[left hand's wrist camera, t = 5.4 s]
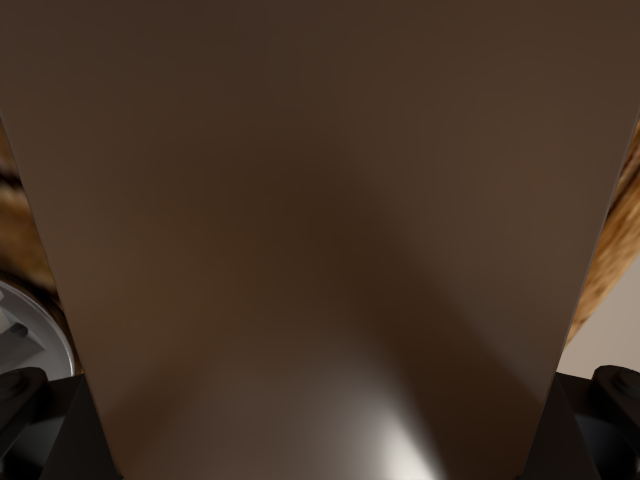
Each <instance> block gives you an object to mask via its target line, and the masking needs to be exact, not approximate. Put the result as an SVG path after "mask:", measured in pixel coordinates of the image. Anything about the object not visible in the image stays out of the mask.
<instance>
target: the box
mask: <svg viewBox="0 0 640 480" xmlns="http://www.w3.org/2000/svg"><path fill="white" fill-rule="evenodd" d="M639 116H640V0H0V118H1V121H2V124H3V127H4V130H5V133H6V136H7V139H8V142H9V145H10V148H11V152H12V155H13V158H14V161H15V164H16V167H17V170H18V173H19V176H20V179H21V182H22V185H23V188H24V191H25V194H26V197H27V200H28V203H29V206H30V210H31V213H32V216H33V219H34V222H35V225H36V228H37V231H38V234H39V237H40V240H41V243H42V246H43V249H44V252H45V255H46V258H47V261H48V265H49V268H50V271H51V274H52V277H53V280H54V283H55V286H56V289H57V292H58V295H59V298H60V301H61V304H62V307H63V310H64V313H65V316H66V320H67V323H68V326H69V329H70V332H71V335H72V338H73V341H74V344H75V347H76V350H77V353H78V356H79V359H80V362H81V365H82V368H83V371H84V374H85V378H86V381H87V384H88V387H89V390H90V393H91V396H92V399H93V402H94V405H95V408H96V411H97V414H98V417H99V420H100V423H101V426H102V429H103V433H104V436H105V439H106V442H107V445H108V448H109V451H110V454H111V457H112V460H113V463H114V466H115V469H116V472H117V475H119V476H124V480H516V476H520V475H522V474H523V471H524V468H525V465H526V462H527V459H528V456H529V453H530V449H531V446H532V443H533V440H534V437H535V434H536V431H537V428H538V425H539V422H540V419H541V416H542V413H543V410H544V407H545V404H546V400H547V397H548V394H549V391H550V388H551V385H552V382H553V379H554V376H555V373H556V370H557V367H558V364H559V360H560V358H561V355H562V352H563V348H564V345H565V342H566V339H567V336H568V333H569V330H570V327H571V324H572V321H573V318H574V315H575V312H576V309H577V306H578V303H579V300H580V296H581V293H582V290H583V287H584V284H585V281H586V278H587V275H588V272H589V269H590V266H591V263H592V260H593V257H594V254H595V251H596V247H597V244H598V241H599V238H600V235H601V232H602V229H603V226H604V223H605V220H606V217H607V214H608V211H609V208H610V205H611V202H612V199H613V195H614V192H615V189H616V186H617V183H618V180H619V177H620V174H621V171H622V168H623V165H624V162H625V159H626V156H627V153H628V150H629V147H630V143H631V140H632V137H633V134H634V131H635V128H636V125H637V122H638V119H639Z"/></svg>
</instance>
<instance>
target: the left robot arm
mask: <svg viewBox="0 0 640 480" xmlns="http://www.w3.org/2000/svg"><path fill="white" fill-rule="evenodd" d="M81 370H82V365H81V362H80V359H79V356H78V353H77V350H76V347H75V344H74V341H73V338H72V335H71V332H70V329H69V326H68V323H67V321H66V319H65V318H64V317H63V315H62V314H61V313H60V312H59V311H58V310H57V309H56V308H55V306H54V305H53V304H52V303H50V302H49V301H48V300H47V299H46V298H45V297H44V296H42V295H41V294H40V293H39V292H37V291H36V290H34V289H33V288H32V287H30V286H29V285H27V284H25V283H24V282H22V281H20V280H18V279H16V278H14V277H12V276H10V275H8V274H6V273H4V272H1V271H0V480H124V476H119V475H117V472H116V469H115V466H114V463H113V460H112V457H111V454H110V451H109V448H108V445H107V442H106V439H105V436H104V433H103V429H102V426H101V423H100V420H99V417H98V414H97V411H96V408H95V405H94V402H93V399H92V396H91V393H90V390H89V387H88V384H87V381H86V378H85V374H84V373H83V374H81ZM516 480H640V373H639V372H637V371H634V370H630V369H628V368H624V367H619V366H613V365H605V366H600V367H598V368H597V369H596V370H595V371H594V374H593V377H592V379H591V380H590V379H585V378H581V377H576V376H571V375H566V374H562V373H559V372H556V373H555V376H554V379H553V382H552V385H551V388H550V391H549V394H548V397H547V400H546V404H545V407H544V410H543V413H542V416H541V419H540V422H539V425H538V428H537V431H536V434H535V437H534V440H533V443H532V446H531V449H530V453H529V456H528V459H527V462H526V465H525V468H524V471H523V474H522V475H520V476H516Z"/></svg>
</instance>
